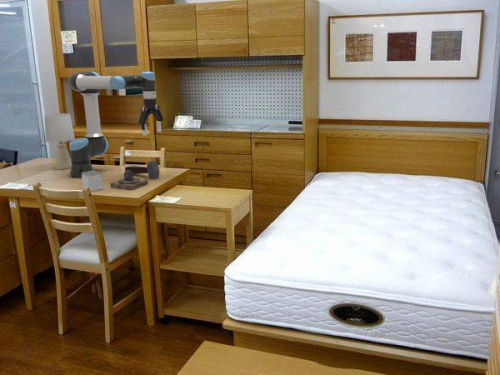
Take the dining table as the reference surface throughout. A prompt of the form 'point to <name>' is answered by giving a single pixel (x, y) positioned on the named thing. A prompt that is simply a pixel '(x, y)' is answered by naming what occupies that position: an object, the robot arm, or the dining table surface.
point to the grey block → (92, 180)
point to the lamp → (59, 137)
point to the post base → (129, 182)
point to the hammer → (146, 169)
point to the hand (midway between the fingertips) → (152, 133)
